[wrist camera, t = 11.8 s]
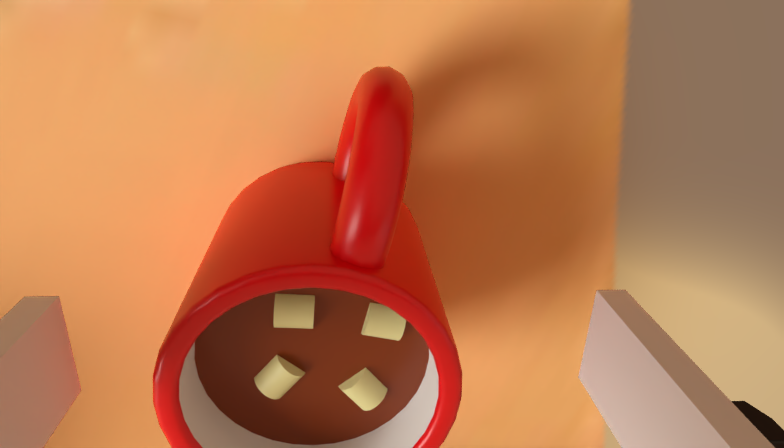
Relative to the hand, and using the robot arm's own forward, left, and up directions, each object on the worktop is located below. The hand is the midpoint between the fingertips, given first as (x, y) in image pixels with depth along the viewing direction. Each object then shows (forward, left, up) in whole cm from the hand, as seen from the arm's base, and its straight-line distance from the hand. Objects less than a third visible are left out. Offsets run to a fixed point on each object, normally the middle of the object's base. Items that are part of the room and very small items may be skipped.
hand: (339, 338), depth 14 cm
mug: (0, 0, -8) cm, 8 cm away
